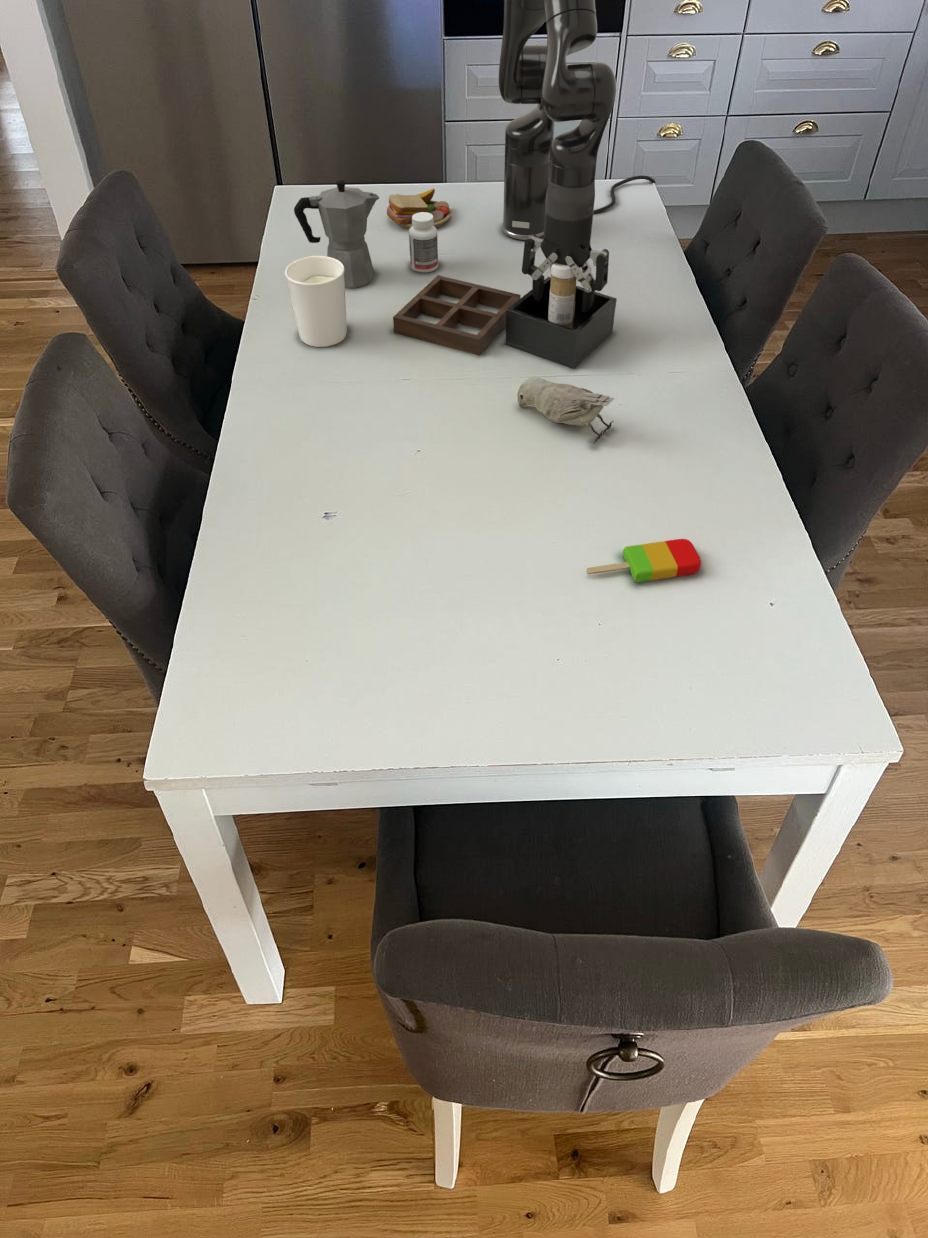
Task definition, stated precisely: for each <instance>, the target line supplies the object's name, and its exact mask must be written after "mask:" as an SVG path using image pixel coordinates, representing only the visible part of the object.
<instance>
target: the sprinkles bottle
mask: <svg viewBox="0 0 928 1238" xmlns="http://www.w3.org/2000/svg"><path fill="white" fill-rule="evenodd" d="M549 273H550V277H551V285H550V297H549V312H548V321H550V322H553V323H556V324H559V325H562V326H565V327H568V328H571V329H572V328H573V318H574V310H575V292H576V286H577V279H576V277H575V275H574V273H573V272H572V270H571V268H570V267H569V266H568V265H563V264H558V263H553V264H552V265H551V266H550V267H549Z"/></svg>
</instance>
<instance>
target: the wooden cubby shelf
mask: <svg viewBox="0 0 928 1238" xmlns="http://www.w3.org/2000/svg"><path fill="white" fill-rule="evenodd" d="M441 295H443V296H446V297H450V298H455V299H459V300H458V301H457V303H456V302H451V301H448V300H443V299H439V297H440V296H441ZM520 298H522V295H521V294H518V293H515V292H510V291H506V290H501V289H498V288H493V287H491V286H490V287H489V286H485V285H481V284H477V283H474V282H473V283H472V282H469V281H464V280H461V279H455V278H452V277H447V276H444V275H439V274H438V275H436V276H435V277H434V278H433V279H432V280H431V281H430V282H429V283H427V285H426V286H424V287H423V288H422V289H421V290H420V291H419V292H418V293H417V294H416V295H415V296H414V297H412V299H410V301H408V302H407V303H406V304H405V305H404V306H403V307H402V308H401V309H400V310H398V312H396V313H395V314H394V315H393V317H392V322H393V333H395V334H397V335H401V336H402V335H403V336H405V337H409V338H413V339H417V340H421V341H424V342H428V343H432V344H436V345H439V346H443V347H447V348H450V349H454V350H457V351H462V352H465V353H469V354H474V355H477V356H481V355H482V353H483V352H484V351H485V350H486V349H487V348H488V347H489V346H490V344H491V343H492V342H493V341H494V340H495V339H496V338H497V337H498V336H499V334H500V333H502V331H503V330H504V329H506V310H507V309H508V308H509V307H510V306H511V305H513V304H514V303H515V302H517V301H518V300H519V299H520ZM478 305H483V306H487V307H492V308H496V309H499V310H498V311H497V312H492V311H488V310H484V309H480V308H476V307H477V306H478ZM420 315H425V316H428V317H433V318H437V319H439V320H438V321H437V322H436V323H434V322H433V323H432V322H429V321H425V320H420V319H417V318H418V317H420ZM459 325H464V326H468V327H471V328H476V329H480V330H479V332H478V333H476V334H475V333H472V332H467V331H463V330H459V329H456V328H457V327H458V326H459Z"/></svg>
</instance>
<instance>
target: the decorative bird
mask: <svg viewBox="0 0 928 1238" xmlns="http://www.w3.org/2000/svg"><path fill="white" fill-rule="evenodd" d="M614 400H615V397H610V396H609V395H604V394H602V393H597V392H596V393H595V392H593V391H591V390H589V389H587V388H584V387H579V386H576V385H572V384H569V383H559V382H553V381H549V380H546V379H544V378H540V377H536V376H535V377H530V378H529V377H528V378H527V379H525V380H524V381H523V382H522V383H521V385H520V386H519V389H518V391H517V403H518V406H519V407H520V408H521V407H525V406H526V407H527V406H531V407H535V408H536V410H537V411H539V413H541V414H543V415H544V416H545V417H546V418H547V419H548V420H549V421H551V422H552V423H555V424H559V423H561V424H564V425H570V426H577V427H585V426H587V427H589V428H590V429H591V431H592V432H593V433H594V434H595V435H596V436H597V437H596V438H595V439H594V441H593V444H595V443H597V442H598V440H600V439H601V437H602V436H603V435H604V434H606V432H607V431H608V430H610V428H611V427H612V424H613V423H614V421H615V420H612V421H610V422H609V424H608V423H606V422H605V421H604V419H603V417H602V415H601V414H600V413H601V412H602V410H603V409H604V407H608V405H609V404H610V403H611V402H613V401H614ZM596 418H598V419H599V420H600V422H601V423H602V424H603V425H604V426H605V427H606V428H605V429H603V430H601V432H600V433H599V432H597V431H596V430H595V429H594V426H593V425H592V422H593V421H595V419H596Z"/></svg>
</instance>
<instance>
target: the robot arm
mask: <svg viewBox="0 0 928 1238" xmlns="http://www.w3.org/2000/svg"><path fill="white" fill-rule="evenodd" d="M503 4H504V5H503V12H504V13H503V29H502V32H503V33H502V39H501V47H500V55H499V64H498V90H499V95H500V97H501V98H502V100H503V101H504V102H505V103H508V104H513V105H536V106H535V107H534V108H533V109H531V111H529V112H527V113H526V114H524V115H520V116H519V117H517V118H513V120H511V121H509V123H508V124H506V127H505V131H504V132H505V133H504V170H503V171H504V172H503V173H504V175H503V208H502V209H503V210H502V211H503V212H502V229H501V230H502V233H503V234H504V235H505V236H507V237H509V238H511V239H515V240H519V241H524V245H523V255H522V264H521V273H522V274H523V275H528V276H529V277H531V279H532V284H531V287H532V288H531V290H532V295H533V297H535V301H540V300H541V299H542V297H543V294H544V280H545V278H546V276H545V275H544V273H545V272H546V271H547V270H548V269H550V268H551V265H552V264H553V263H558V264H563V265H568V266H569V267H570V268H571V270H572V272H573V273H574V275H575V277H576V281H577V282H579V283H580V284H581V287H582V288H584V292H583V301H582V312H587V311H588V310H589V309H590V308H591V307H592V306H593V304H594V296H595V292H601V291H603V289H604V288H605V287H606V286H607V284H608V281H609V278H608V277H609V262H610V260H609V259H610V252H609V249H607V248H604V249H602V250H601V251H600V250H593V249H592V246H591V240H592V231H593V221H594V215H596V214H600V213H602V212H605V211H608V210H609V209H610V208H612V207H613V206H614V205H615V203H616V196H615V195H616V194H615V189H616V188H617V187H620V186H623V185H624V184H627V183H629V182H632V181H637V180H646V181H649V182H650V183H652V184H656V183H657V182H656V180H655V179H654V178H652V177H651V176H649V175H634V176H631V177H627V178H625V179H622V180H620V181H618V182H615V183H614V184H613V185H612V186H611V188H610V197H611V202H610V203H609V204H607V205H605V206H603V207H600V208H597V209H595V199H596V172H597V161H598V152H599V149H600V145H601V143H602V139H603V136H604V132H605V130H606V126H607V125H608V122H609V119H610V117H611V114H612V111H613V108H614V105H615V101H616V97H617V80H616V76H615V73H614V70H613V69H612V68H611V66H609V64H607V63H605V62H599V61H598V62H585V63H573V64H567V57H568V56H569V55H572V54H575V53H577V52H580V51H583V50H585V49H587V48H589V47H590V46H591V45H593V43H595V41H596V39H597V37H598V20H597V9H596V0H503ZM544 23H545V25H546V36H547V37H546V44H526V43H527V42H528V41H529V39H530V38H531V37H532V36H533V35H534V34H535V33H536V32H537V31H538V30H539V29H540V28H541V27H542V26H543V25H544ZM575 121H580V123H578V126H577V127H575V128H573V129H571V130H569V131H567V132H563V133H561V134H559V135H557V136H556V137H555V123H563V122H564V123H565V122H575ZM539 249H540V250H541V252H542V254H543V255H544V258H545V260H544V261H543V262H542V263H541V264H540V265H539V266H537V265H535V263H536V253H537V251H538V250H539ZM589 260H592V263H593V266H594V267H595V276H594V273H593V272H592V267H591V265H590V263H589V262H588V261H589Z"/></svg>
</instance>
